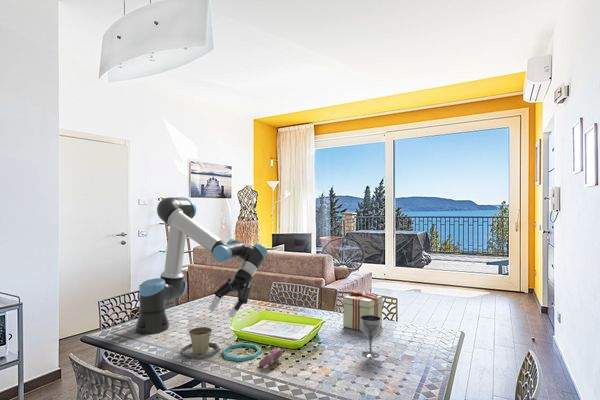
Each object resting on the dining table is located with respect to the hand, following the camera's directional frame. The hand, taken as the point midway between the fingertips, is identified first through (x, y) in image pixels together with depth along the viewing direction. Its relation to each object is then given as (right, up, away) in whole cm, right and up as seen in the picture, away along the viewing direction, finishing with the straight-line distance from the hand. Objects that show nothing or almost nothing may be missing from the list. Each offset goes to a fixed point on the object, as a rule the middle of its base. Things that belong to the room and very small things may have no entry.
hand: (220, 313), depth 162 cm
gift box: (+66, -14, +25) cm, 72 cm away
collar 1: (-7, -14, -7) cm, 17 cm away
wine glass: (+64, -14, -10) cm, 66 cm away
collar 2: (+11, -14, -9) cm, 20 cm away
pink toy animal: (+24, -14, -19) cm, 34 cm away
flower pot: (-7, -14, -7) cm, 17 cm away
